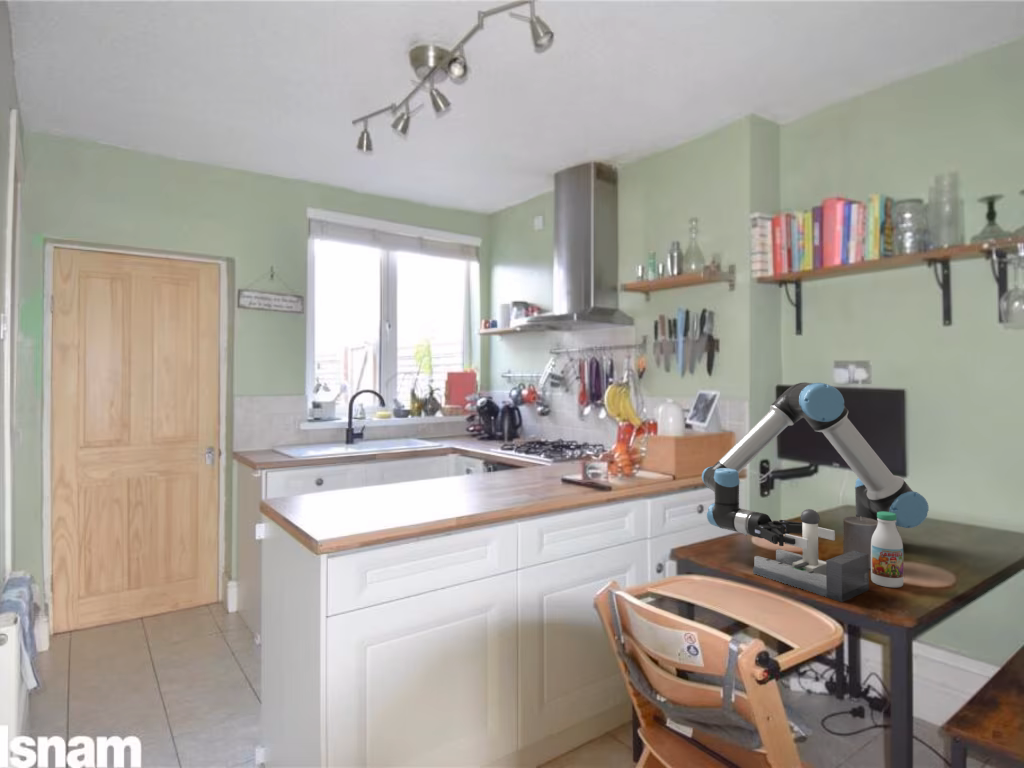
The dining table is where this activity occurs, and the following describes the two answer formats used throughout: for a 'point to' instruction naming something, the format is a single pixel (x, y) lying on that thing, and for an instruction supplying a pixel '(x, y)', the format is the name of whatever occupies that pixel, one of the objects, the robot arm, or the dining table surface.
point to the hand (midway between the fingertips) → (821, 539)
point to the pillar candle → (858, 535)
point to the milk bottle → (887, 552)
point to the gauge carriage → (810, 543)
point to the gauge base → (839, 583)
